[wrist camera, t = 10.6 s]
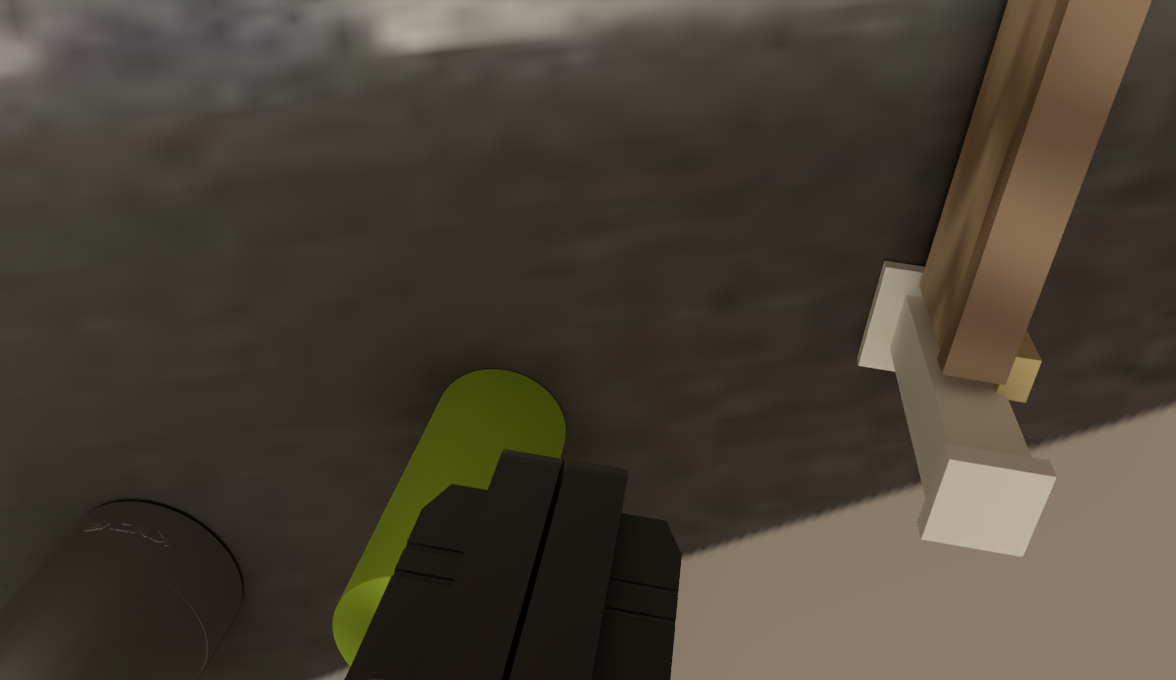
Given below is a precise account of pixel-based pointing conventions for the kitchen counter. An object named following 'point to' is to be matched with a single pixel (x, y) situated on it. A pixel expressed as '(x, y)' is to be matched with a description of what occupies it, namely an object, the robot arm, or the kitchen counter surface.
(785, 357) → the kitchen counter surface
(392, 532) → the soap dispenser
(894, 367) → the post
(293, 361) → the kitchen counter surface
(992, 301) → the gate
